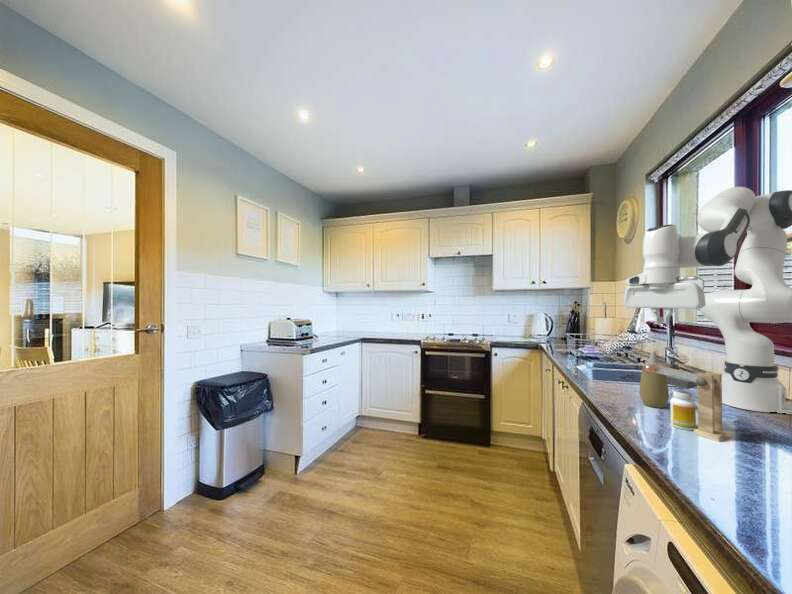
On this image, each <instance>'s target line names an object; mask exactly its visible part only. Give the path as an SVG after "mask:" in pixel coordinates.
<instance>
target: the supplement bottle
mask: <svg viewBox="0 0 792 594" xmlns="http://www.w3.org/2000/svg"><path fill="white" fill-rule="evenodd" d="M672 396H673V397H671V399H670V400H669V404H670V405H669V410H670V411H669V412H670V413H669V414H670V418H669V419H670V425H671V427H674V428H677V429H680V430H685V431H694V430H695V429H697V425H696V424H697V419H696V418H697V417H696V412H697V411H696V403H695V402H694V401H693V400H692V399H693V393H691V392H689V391H684V390H673V391H672Z"/></svg>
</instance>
